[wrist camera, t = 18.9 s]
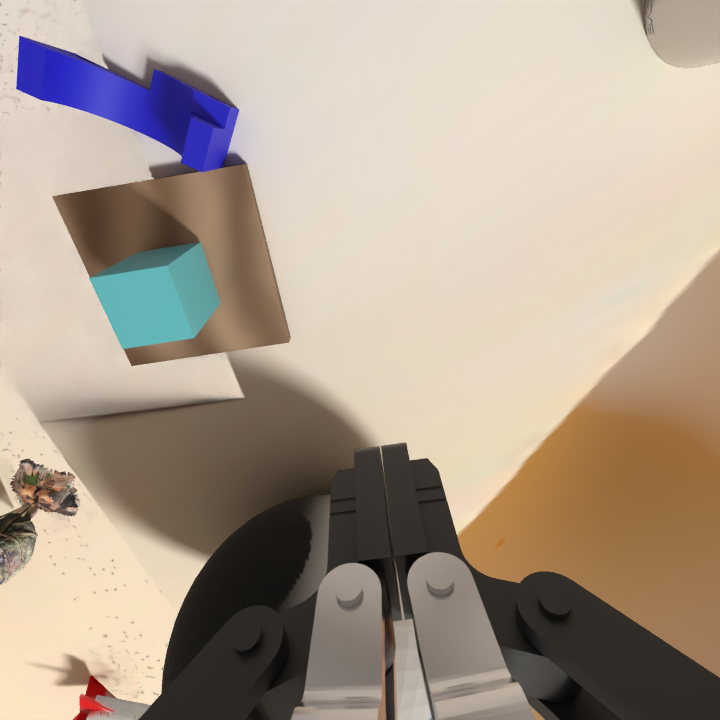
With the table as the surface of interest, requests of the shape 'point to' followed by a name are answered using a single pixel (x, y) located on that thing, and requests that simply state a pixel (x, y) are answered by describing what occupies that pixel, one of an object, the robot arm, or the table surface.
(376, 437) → the table surface
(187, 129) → the cable clip
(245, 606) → the black ball
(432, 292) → the table surface
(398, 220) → the table surface
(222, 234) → the walnut board
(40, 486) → the plant with pod
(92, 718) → the model rocket
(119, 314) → the aqua box
